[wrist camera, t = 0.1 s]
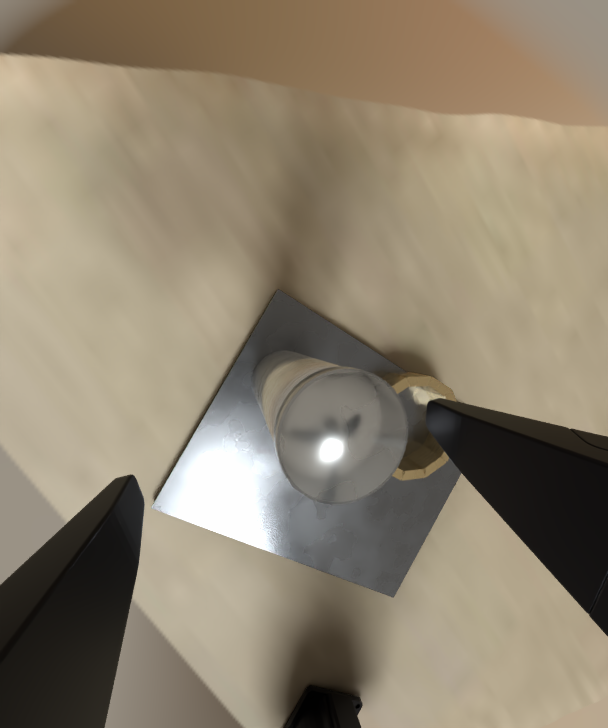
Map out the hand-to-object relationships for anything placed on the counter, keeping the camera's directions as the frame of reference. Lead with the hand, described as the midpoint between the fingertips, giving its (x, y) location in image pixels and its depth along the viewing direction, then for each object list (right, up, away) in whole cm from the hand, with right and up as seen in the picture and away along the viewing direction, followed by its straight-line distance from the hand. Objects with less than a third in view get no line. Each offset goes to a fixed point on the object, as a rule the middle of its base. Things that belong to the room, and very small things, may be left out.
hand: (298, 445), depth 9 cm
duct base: (+3, -6, +17) cm, 19 cm away
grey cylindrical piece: (-1, +1, +15) cm, 15 cm away
